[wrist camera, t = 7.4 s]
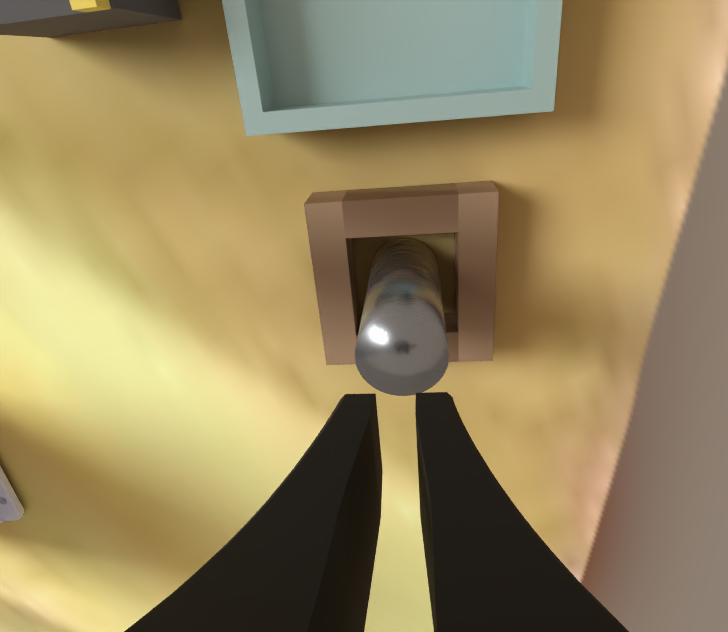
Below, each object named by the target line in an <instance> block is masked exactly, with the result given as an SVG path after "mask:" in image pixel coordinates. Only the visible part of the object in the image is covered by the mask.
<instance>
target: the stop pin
mask: <svg viewBox="0 0 728 632" xmlns="http://www.w3.org/2000/svg"><path fill="white" fill-rule="evenodd" d="M448 361H449V353H448V344H447V336H446V328H445V320H444V311H443V303H442V295H441V287H440V279H439V271H438V263H437V260H436V257H435V255H434V253H433V252H432V251H431V249H430V248H429V247H428V246H426V245H425V244H424V243H422V242H420V241H417V240H414V239H409V238H401V239H395V240H392V241H390V242H388V243H386V244H385V245H383V246H382V247H381V248H380V249H379V250H378V252H377V253H376V255H375V257H374V259H373V262H372V267H371V272H370V277H369V282H368V287H367V292H366V297H365V302H364V307H363V313H362V318H361V323H360V328H359V333H358V338H357V343H356V348H355V362H356V366H357V368H358V370H359V372H360V374H361V376H362V377H363V378H364V379H365V381H366V382H367V383H369V384H370V385H371V386H372V387H374V388H375V389H377V390H379V391H381V392H384V393H387V394H391V395H397V396H408V395H414V394H416V393H421V392H424V391H426V390H428V389H429V388H431V387H432V386H434V385H435V384H436V383H437V382H438V381H439V380H440V379H441V378H442V376H443V375H444V373H445V371H446V369H447V366H448Z"/></svg>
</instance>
